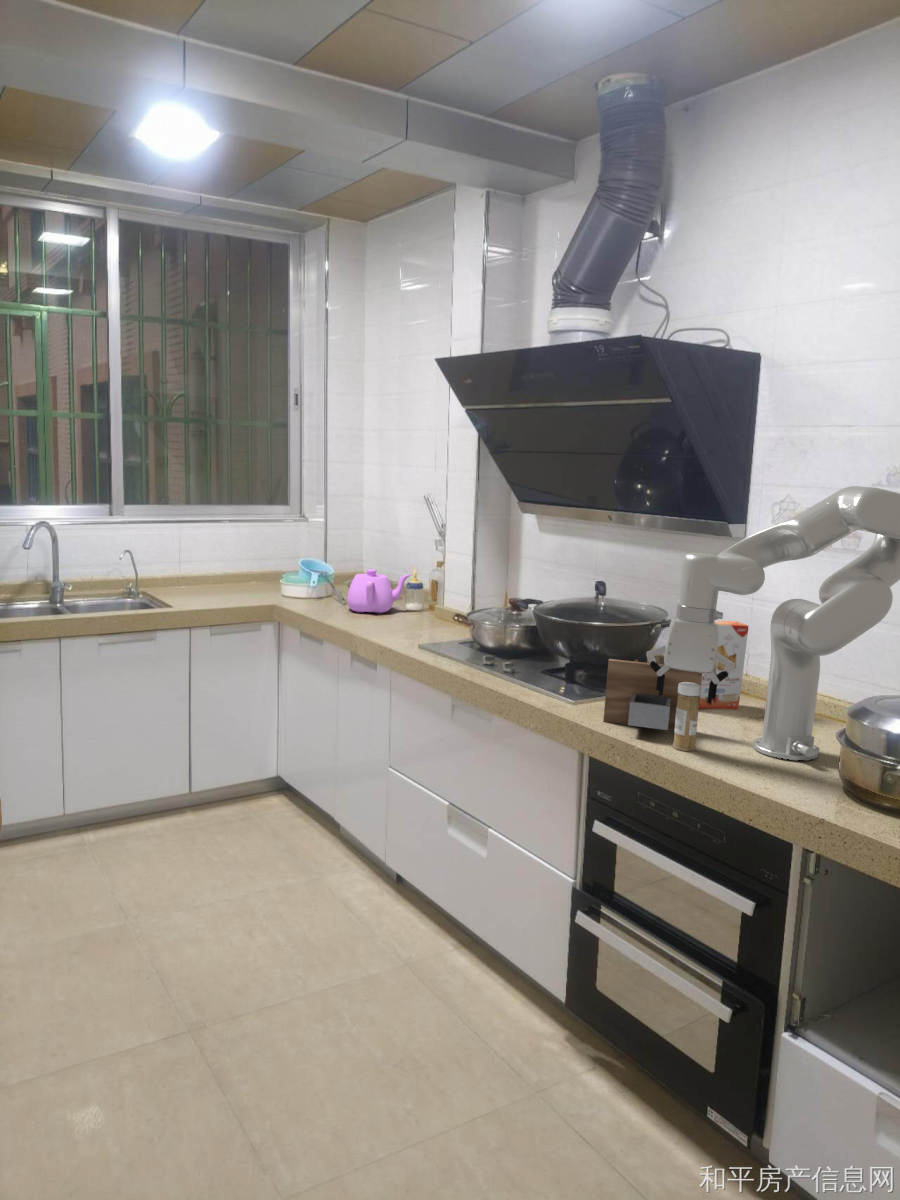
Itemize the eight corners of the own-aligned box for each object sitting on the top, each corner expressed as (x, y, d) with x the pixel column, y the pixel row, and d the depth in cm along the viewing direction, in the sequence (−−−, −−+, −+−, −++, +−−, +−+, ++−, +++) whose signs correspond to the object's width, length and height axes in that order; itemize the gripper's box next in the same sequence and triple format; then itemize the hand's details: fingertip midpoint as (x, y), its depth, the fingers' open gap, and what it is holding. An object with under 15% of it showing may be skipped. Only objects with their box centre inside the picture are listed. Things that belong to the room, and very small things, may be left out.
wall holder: (695, 745, 189) (702, 679, 187) (598, 732, 194) (604, 668, 192) (696, 731, 199) (702, 668, 197) (604, 719, 204) (609, 658, 202)
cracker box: (686, 710, 217) (694, 623, 213) (675, 703, 222) (683, 618, 219) (740, 709, 219) (749, 624, 216) (728, 703, 225) (736, 619, 222)
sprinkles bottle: (698, 752, 184) (704, 687, 182) (676, 751, 184) (682, 686, 182) (691, 745, 189) (697, 681, 187) (669, 744, 188) (675, 681, 186)
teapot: (344, 615, 317) (346, 572, 314) (348, 606, 337) (349, 565, 335) (410, 618, 318) (412, 575, 316) (409, 608, 339) (411, 568, 336)
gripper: (739, 617, 184) (728, 700, 186) (652, 607, 188) (642, 687, 190) (741, 623, 176) (729, 709, 179) (650, 612, 181) (640, 695, 183)
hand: (684, 698), depth 185 cm, fingers open, 9 cm apart
